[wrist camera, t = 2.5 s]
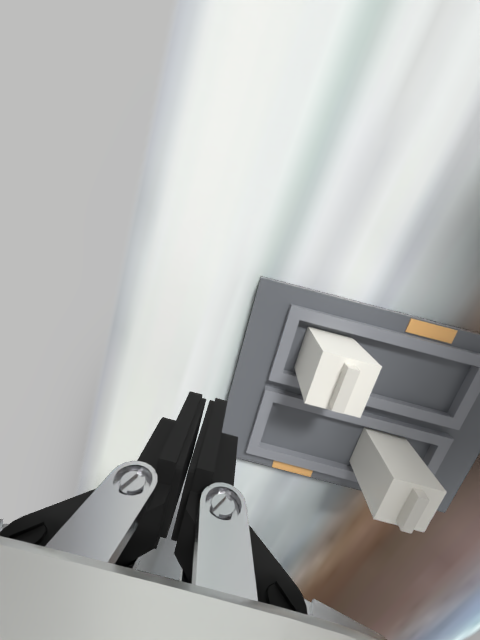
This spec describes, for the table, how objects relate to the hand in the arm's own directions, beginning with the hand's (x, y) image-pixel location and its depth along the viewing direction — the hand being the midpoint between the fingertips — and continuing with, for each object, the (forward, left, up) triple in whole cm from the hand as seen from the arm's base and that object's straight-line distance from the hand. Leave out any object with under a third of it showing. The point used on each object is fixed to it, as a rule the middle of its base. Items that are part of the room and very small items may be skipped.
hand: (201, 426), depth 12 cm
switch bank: (+4, +13, -15) cm, 20 cm away
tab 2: (+8, +16, -13) cm, 22 cm away
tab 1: (0, +8, -13) cm, 16 cm away
